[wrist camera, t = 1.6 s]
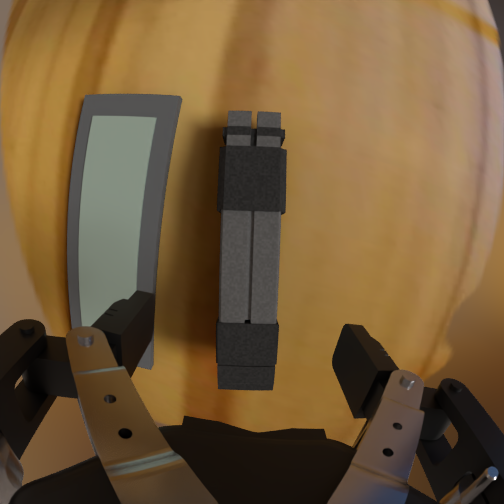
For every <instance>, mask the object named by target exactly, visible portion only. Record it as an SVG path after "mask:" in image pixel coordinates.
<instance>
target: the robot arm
mask: <svg viewBox="0 0 504 504" xmlns="http://www.w3.org/2000/svg"><path fill="white" fill-rule="evenodd" d="M154 313H155V294H154V293H149V292H144V291H140V290H136V291H135V293H134V294H133V295H132V296H131V297H130V298H129V299H121V300H119V301H116V302H114V303H113V304H112V305H111V306H110V307H109V308H108V309H107V310H106V311H105V312H104V314H102V315H101V316H100V317H99V318H98V319H97V320H96V321H95V322H94V323H93V324H92V325H91V326H80V327H76V328H73V329H71V330H70V331H68V333H67V334H66V338H65V337H55V336H47V335H46V330H45V326H44V325H43V324H42V323H41V322H39V321H36V320H32V319H26V320H20V321H18V322H16V323H14V324H13V325H12V326H10V327H9V328H8V329H7V330H6V331H5V332H3V333H2V334H1V335H0V504H504V434H503V433H502V432H501V430H500V429H499V428H498V426H497V425H496V424H495V422H494V421H493V420H492V418H491V417H490V416H489V415H488V413H487V412H486V411H485V409H484V408H483V407H482V406H481V404H480V403H479V402H478V401H477V399H476V398H475V397H474V396H473V394H472V393H471V392H470V391H469V389H468V388H467V387H466V386H465V385H464V384H463V383H461V382H459V381H457V380H455V379H450V378H446V379H443V380H442V381H441V383H440V385H439V386H438V388H437V389H434V388H428V387H424V383H423V381H422V379H421V378H420V377H419V376H417V375H416V374H414V373H412V372H410V371H406V370H399V368H398V367H397V366H396V364H395V363H394V362H393V360H392V359H391V357H390V356H388V353H387V352H386V351H384V350H385V349H384V348H383V347H382V345H381V344H380V343H379V342H378V341H376V340H375V339H374V338H372V337H371V336H370V335H369V333H368V332H367V331H366V329H365V328H364V327H363V326H362V325H354V324H345V325H344V326H343V328H342V331H341V334H340V337H339V340H338V343H337V346H336V348H335V351H334V354H333V358H332V366H333V369H334V372H335V374H336V376H337V379H338V381H339V383H340V386H341V388H342V390H343V393H344V395H345V398H346V400H347V402H348V405H349V407H350V410H351V412H352V414H353V417H354V418H366V419H367V421H366V422H365V424H364V426H363V427H362V429H361V431H360V433H359V435H358V437H357V439H356V440H355V442H354V444H353V446H352V447H351V446H349V445H346V444H344V443H342V442H339V441H336V440H332V439H327V438H326V434H325V431H324V429H297V428H291V429H284V430H277V431H269V432H259V433H257V432H252V431H248V430H245V429H241V428H238V427H235V426H232V425H228V424H225V423H222V422H219V421H212V420H206V419H200V418H194V417H189V416H184V419H183V423H182V425H172V426H163V427H159V428H158V427H157V425H156V424H155V422H154V420H153V419H152V417H151V415H150V413H149V412H148V410H147V408H146V406H145V405H144V403H143V401H142V399H141V397H140V395H139V394H138V392H137V390H136V388H135V386H134V384H133V382H132V380H131V377H132V375H133V373H134V371H135V369H136V367H137V365H138V364H139V362H140V360H141V358H142V356H143V354H144V353H145V351H146V349H147V347H148V345H149V344H150V342H151V339H152V336H153V331H154ZM21 375H22V377H23V380H22V381H21V382H20V383H19V385H18V386H17V387H16V388H15V384H16V382H17V380H18V379H19V378H20V376H21ZM57 396H61V397H69V398H77V399H78V403H79V406H80V410H81V413H82V417H83V420H84V423H85V426H86V429H87V432H88V435H89V438H90V441H91V444H92V447H93V449H94V452H95V455H96V456H94V457H92V458H90V459H88V460H85V461H83V462H80V463H78V464H76V465H74V466H71V467H69V468H66V469H64V470H61V471H59V472H56V473H53V474H51V475H48V476H46V477H43V478H40V479H37V480H34V481H32V482H30V483H27V484H25V485H23V486H22V480H23V475H24V472H23V467H22V465H21V463H20V461H19V460H20V458H21V456H22V454H23V453H24V451H25V449H26V447H27V446H28V444H29V442H30V440H31V439H32V437H33V435H34V434H35V432H36V430H37V428H38V427H39V425H40V423H41V422H42V420H43V418H44V417H45V415H46V414H47V412H48V410H49V409H50V407H51V405H52V404H53V402H54V401H55V399H56V397H57ZM451 422H452V424H453V425H454V427H455V429H456V430H457V432H458V442H457V444H456V445H455V447H454V448H453V449H452V448H451V446H450V444H449V443H448V441H447V439H446V438H445V436H444V434H443V433H444V432H445V430H446V429H447V428H448V426H449V425H450V423H451ZM415 453H416V454H417V456H418V458H419V460H420V463H421V465H422V467H423V469H424V472H425V474H426V476H427V478H428V481H429V483H430V485H431V487H432V490H433V492H434V495H435V497H436V499H437V502H436V501H435V500H433V499H431V498H430V497H428V496H426V495H425V494H423V493H421V492H420V491H418V490H416V489H415V488H413V487H412V486H410V485H408V484H407V481H408V477H409V474H410V471H411V467H412V464H413V461H414V457H415Z"/></svg>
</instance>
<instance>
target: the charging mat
mask: <svg viewBox="0 0 504 504" xmlns="http://www.w3.org/2000/svg"><path fill="white" fill-rule="evenodd" d="M181 103H182V98H181V97H180V96H173V95H154V94H97V95H85V98H84V103H83V107H82V112H81V116H80V121H79V126H78V132H77V137H76V143H75V150H74V156H73V164H72V172H71V181H70V192H69V205H68V225H67V270H68V291H69V304H70V315H71V324H72V329H73V328H76V327H80V326H91V325H92V324H93V323H94V322H95V321H96V320H97V319H98V318H99V317H100V316H101V315H102V314H104V312H105V311H106V310H107V309H108V308H109V307H110V306H111V305H112V304H113V303H114V302H116V301H119V300H121V299H129V298H130V297H131V296H132V295H133V294H134V293H135V291H136V290H140V291H144V292H149V293H154V294H155V293H156V277H157V264H158V252H159V242H160V232H161V223H162V215H163V207H164V199H165V192H166V185H167V178H168V172H169V166H170V159H171V154H172V148H173V142H174V137H175V132H176V127H177V122H178V117H179V112H180V107H181ZM153 352H154V331H153V336H152V339H151V342H150V344H149V345H148V347H147V349H146V351H145V353H144V354H143V356H142V358H141V360H140V362H139V364H138V365H137V366H138V367H141V368H145V369H150V370H151V368H152V366H153Z"/></svg>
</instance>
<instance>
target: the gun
mask: <svg viewBox="0 0 504 504" xmlns="http://www.w3.org/2000/svg"><path fill="white" fill-rule="evenodd" d="M251 115H252V111H229V112H228V127H223V139H224V143H225V145H226V146H225V147H220V157H219V175H218V197H217V211H218V212H220V213H221V235H220V274H219V317H218V320H217V323H216V363H218V365H217V369H218V389H229V390H273V384H274V375H275V364H276V363H277V348H278V332H279V325H278V322H277V301H278V280H279V256H280V229H281V215H282V214H284V213H285V207H286V156H287V150H284V149H282V148H281V146H282V144H283V141H284V139H285V130H282V129H281V113H276V112H258V115H257V129H251Z"/></svg>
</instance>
